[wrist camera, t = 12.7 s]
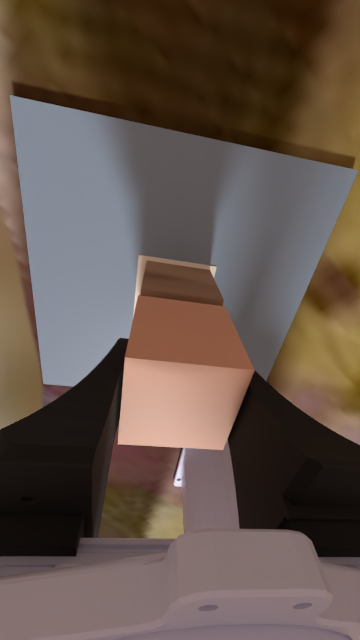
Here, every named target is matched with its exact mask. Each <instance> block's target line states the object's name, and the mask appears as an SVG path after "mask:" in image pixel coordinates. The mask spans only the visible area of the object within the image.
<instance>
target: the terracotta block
mask: <svg viewBox="0 0 360 640" xmlns="http://www.w3.org/2000/svg"><path fill="white" fill-rule="evenodd" d="M254 371H255V370H254V368H253V366H252V363H251V361H250V359H249V357H248V355H247V353H246V350H245V348H244V346H243V344H242V342H241V339H240V337H239V335H238V333H237V331H236V329H235V326H234V324H233V322H232V320H231V318H230V315H229V313H228V311H227V309H226V307H225V306H218V305H210V304H202V303H195V302H187V301H179V300H172V299H164V298H157V297H149V296H141V295H138V298H137V303H136V307H135V312H134V317H133V322H132V326H131V331H130V336H129V340H128V345H127V350H126V354H125V362H124V374H123V386H122V399H121V411H120V423H119V435H118V444H126V445H143V446H161V447H178V448H196V449H213V450H223V449H224V446H225V444H226V441H227V439H228V436H229V434H230V431H231V429H232V426H233V424H234V421H235V419H236V416H237V414H238V411H239V409H240V406H241V404H242V401H243V398H244V396H245V393H246V391H247V388H248V386H249V383H250V381H251V378H252V376H253V373H254Z"/></svg>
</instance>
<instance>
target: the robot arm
mask: <svg viewBox="0 0 360 640" xmlns="http://www.w3.org/2000/svg"><path fill="white" fill-rule="evenodd" d="M128 340H129V339H127V338H119V339H118V340H117V342H116V343H115V345H114V346H113V347H112V349H111V350H110V351H109V352H108V354H107V355H106V356H105V357H104V358H103V359H102V361H101V362H100V363H99V364H98V365H97V366H96V367H95V368H94V369H93V370H92V371H91V372H90V373H89V374H88V375H87V376H86V377H84V378H83V379H82V380H81V381H80V382H79V383H77V384H76V385H75V386H74V387H72V388H71V389H70V390H68V391H67V392H66V393H64V394H63V395H62V396H60V397H59V398H57V399H56V400H54V401H53V402H51V403H50V404H48V405H46V406H45V407H43V408H41V409H40V410H38V411H36V412H35V413H33V414H31V415H29V416H27V417H25V418H23V419H21V420H19V421H17V422H15V423H13V424H11V425H9V426H7V427H5V428H2V429H1V430H0V640H360V445H358V444H356V443H354V442H352V441H350V440H348V439H346V438H344V437H343V436H341V435H339V434H337V433H336V432H334V431H332V430H331V429H329V428H327V427H325V426H324V425H322V424H321V423H319V422H317V421H316V420H314V419H313V418H312V417H310V416H309V415H307V414H306V413H304V412H303V411H301V410H300V409H299V408H297V407H296V406H295V405H293V404H292V403H291V402H289V401H288V400H287V399H286V398H284V397H283V396H282V395H281V394H280V393H278V392H277V391H276V390H275V389H274V388H273V387H272V386H271V385H270V384H269V383H268V382H266V381H265V380H264V379H263V378H262V377H261V376H260V375H259V374H258V373H257V372H256V371H254V373H253V376H252V378H251V381H250V383H249V386H248V388H247V391H246V393H245V396H244V398H243V401H242V404H241V406H240V409H239V411H238V414H237V416H236V419H235V421H234V424H233V426H232V429H231V431H230V434H229V436H228V439H227V441H226V444H225V446H224V449H223V450H213V449H196V448H182V452H181V455H180V459H179V463H178V466H177V470H176V474H175V477H174V481H173V484H174V486H181V488H182V506H183V524H184V534H182V535H180V536H178V537H177V538H176V539H147V538H98V534H99V528H100V522H101V515H102V509H103V503H104V497H105V491H106V485H107V479H108V473H109V467H110V461H111V455H112V449H113V443H114V439H115V434H116V430H117V426H118V423H119V419H120V411H121V399H122V386H123V374H124V362H125V354H126V350H127V345H128Z"/></svg>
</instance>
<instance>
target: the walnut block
mask: <svg viewBox="0 0 360 640" xmlns="http://www.w3.org/2000/svg"><path fill="white" fill-rule="evenodd" d="M140 295H141V296H149V297H157V298H164V299H172V300H179V301H187V302H195V303H202V304H210V305H218V306H223V302H224V299H223V297H222V295H221V293H220V290H219V288H218V286H217V284H216V282H215V280H214V278H213V275H212V273H211V271H210V270H207V269H200V268H194V267H187V266H181V265H174V264H167V263H161V262H154V261H148V260H147V261H146V266H145V271H144V276H143V281H142V286H141V294H140Z"/></svg>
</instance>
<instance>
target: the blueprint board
mask: <svg viewBox="0 0 360 640" xmlns="http://www.w3.org/2000/svg"><path fill="white" fill-rule="evenodd" d="M10 101H11V109H12V118H13V126H14V135H15V144H16V152H17V161H18V169H19V178H20V186H21V195H22V204H23V212H24V221H25V229H26V238H27V246H28V255H29V264H30V272H31V281H32V289H33V298H34V307H35V315H36V324H37V332H38V341H39V349H40V358H41V367H42V375H43V384H51V385H63V386H75V385H76V384H77V383H79V382H80V381H81V380H82V379H83V378H84V377H86V376H87V375H88V374H89V373H90V372H91V371H92V370H93V369H94V368H95V367H96V366H97V365H98V364H99V363H100V362H101V361H102V359H103V358H104V357H105V356H106V355H107V354H108V352H109V351H110V350H111V349H112V347H113V346H114V345H115V343H116V342H117V340H118V339H119V338H127V339H129V336H130V331H131V326H132V322H133V317H134V312H135V307H136V303H137V298H138V295H140V294H141V286H142V281H143V276H144V271H145V266H146V261H147V260H148V261H154V262H161V263H167V264H174V265H181V266H187V267H194V268H200V269H207V270H210V271H211V273H212V275H213V278H214V280H215V282H216V284H217V286H218V288H219V290H220V293H221V295H222V297H223V299H224V302H223V306H225V307H226V309H227V311H228V313H229V315H230V318H231V320H232V322H233V324H234V326H235V329H236V331H237V333H238V335H239V337H240V339H241V342H242V344H243V346H244V348H245V350H246V353H247V355H248V357H249V359H250V361H251V363H252V366H253V368H254V370H255V371H256V372H257V373H258V374H259V375H260V376H261V377H262V378H263V379H264V380H265V381H267V378H268V376H269V374H270V372H271V369H272V367H273V365H274V362H275V360H276V358H277V356H278V353H279V351H280V349H281V346H282V344H283V342H284V340H285V337H286V335H287V333H288V330H289V328H290V326H291V324H292V321H293V319H294V317H295V314H296V312H297V310H298V308H299V305H300V303H301V301H302V298H303V296H304V294H305V292H306V289H307V287H308V285H309V283H310V280H311V278H312V276H313V273H314V271H315V269H316V267H317V264H318V262H319V260H320V257H321V255H322V253H323V251H324V248H325V246H326V244H327V241H328V239H329V237H330V235H331V232H332V230H333V228H334V225H335V223H336V221H337V219H338V216H339V214H340V212H341V209H342V207H343V205H344V203H345V200H346V198H347V196H348V193H349V191H350V189H351V187H352V184H353V182H354V180H355V177H356V175H357V173H358V171H359V170H355V169H350V168H346V167H341V166H336V165H332V164H327V163H322V162H318V161H313V160H309V159H304V158H299V157H295V156H290V155H285V154H281V153H276V152H271V151H267V150H262V149H258V148H253V147H248V146H244V145H239V144H234V143H230V142H225V141H220V140H216V139H211V138H207V137H202V136H197V135H193V134H188V133H183V132H179V131H174V130H169V129H165V128H160V127H155V126H151V125H146V124H142V123H137V122H132V121H128V120H123V119H118V118H114V117H109V116H104V115H100V114H95V113H91V112H86V111H81V110H77V109H72V108H67V107H63V106H58V105H53V104H49V103H44V102H40V101H35V100H30V99H26V98H21V97H16V96H12V95H10Z"/></svg>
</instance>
